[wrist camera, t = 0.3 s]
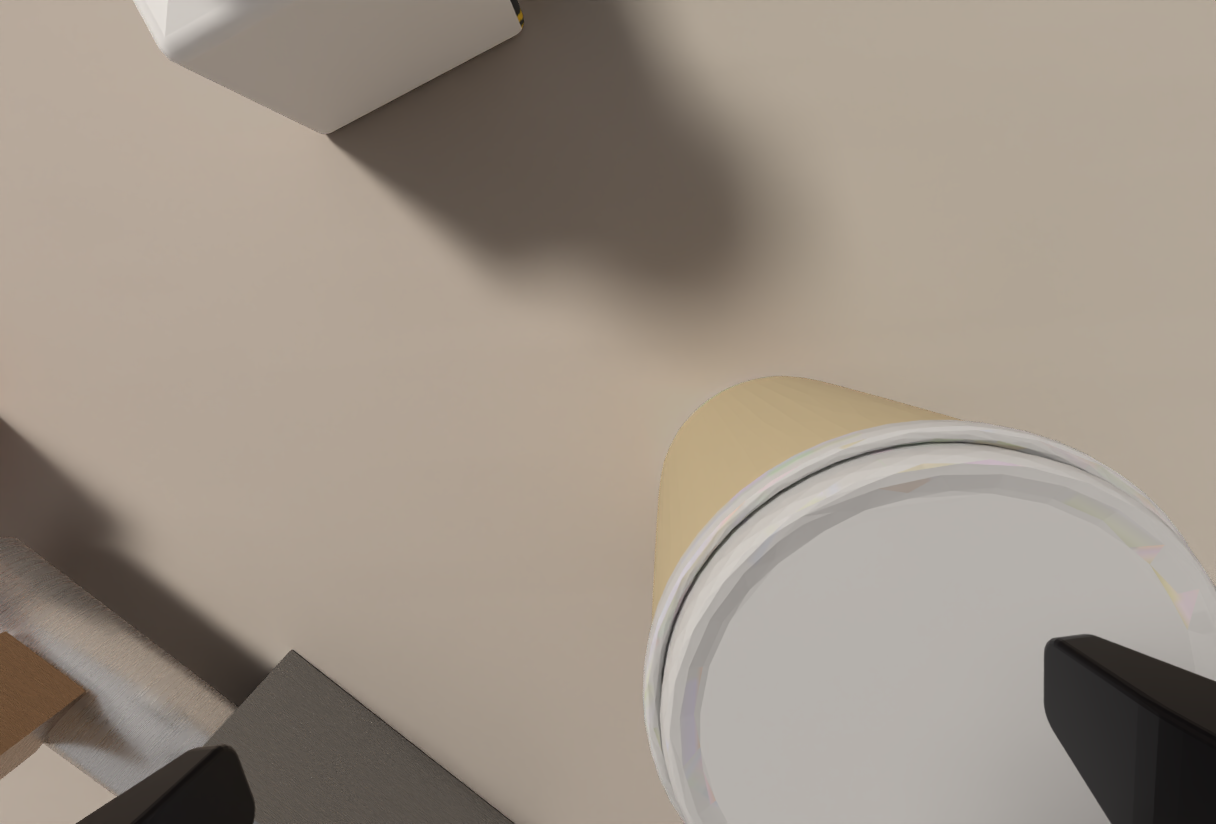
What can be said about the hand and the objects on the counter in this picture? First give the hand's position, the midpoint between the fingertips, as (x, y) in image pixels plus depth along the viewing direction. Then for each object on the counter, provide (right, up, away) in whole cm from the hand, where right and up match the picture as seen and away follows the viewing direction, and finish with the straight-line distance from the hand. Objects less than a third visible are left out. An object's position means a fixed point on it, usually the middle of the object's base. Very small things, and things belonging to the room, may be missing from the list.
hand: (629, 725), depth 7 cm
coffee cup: (+5, +1, +15) cm, 16 cm away
